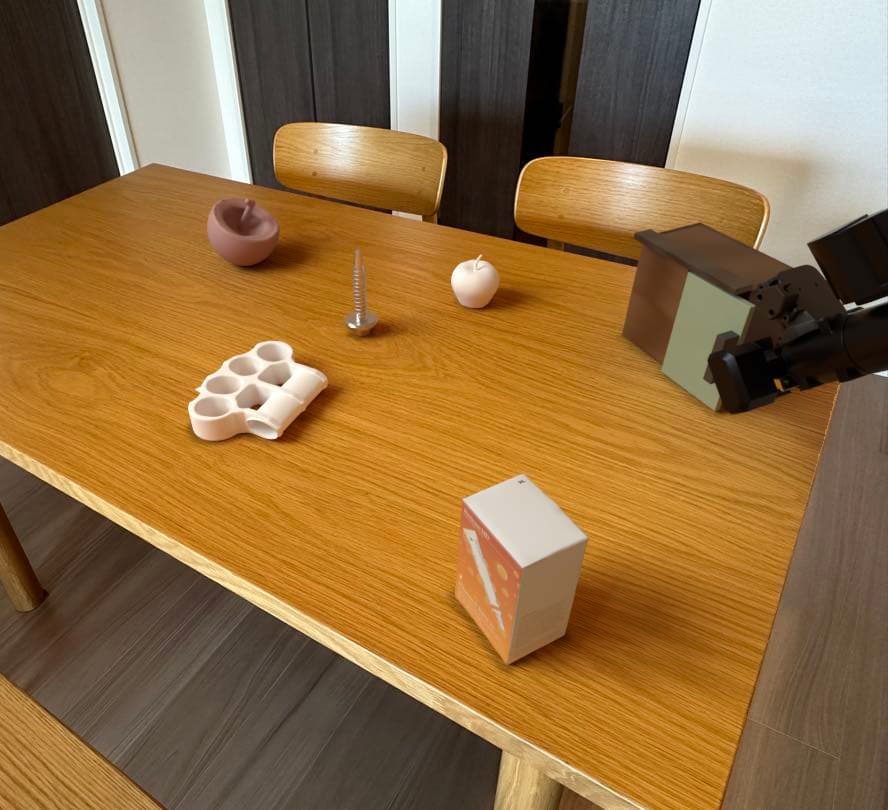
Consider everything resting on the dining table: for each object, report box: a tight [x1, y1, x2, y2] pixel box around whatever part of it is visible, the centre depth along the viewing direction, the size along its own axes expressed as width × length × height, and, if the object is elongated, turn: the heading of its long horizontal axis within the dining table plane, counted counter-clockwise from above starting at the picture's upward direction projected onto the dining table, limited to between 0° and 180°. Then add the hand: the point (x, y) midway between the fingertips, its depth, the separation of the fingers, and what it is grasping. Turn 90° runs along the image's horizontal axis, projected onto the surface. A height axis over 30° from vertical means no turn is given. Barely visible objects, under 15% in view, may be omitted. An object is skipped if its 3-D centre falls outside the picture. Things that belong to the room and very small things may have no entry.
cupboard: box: [621, 222, 794, 366], centre depth 85 cm, size 16×10×16 cm, turn 21°
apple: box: [450, 254, 500, 309], centre depth 103 cm, size 7×7×8 cm
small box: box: [454, 473, 589, 666], centre depth 58 cm, size 8×6×13 cm
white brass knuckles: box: [187, 340, 329, 442], centre depth 87 cm, size 3×18×15 cm
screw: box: [343, 248, 379, 338], centre depth 96 cm, size 13×5×5 cm
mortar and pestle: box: [206, 197, 280, 267], centre depth 116 cm, size 12×12×11 cm
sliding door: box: [660, 271, 756, 412], centre depth 80 cm, size 9×3×14 cm, turn 21°
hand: (734, 376), depth 76 cm, fingers closed
